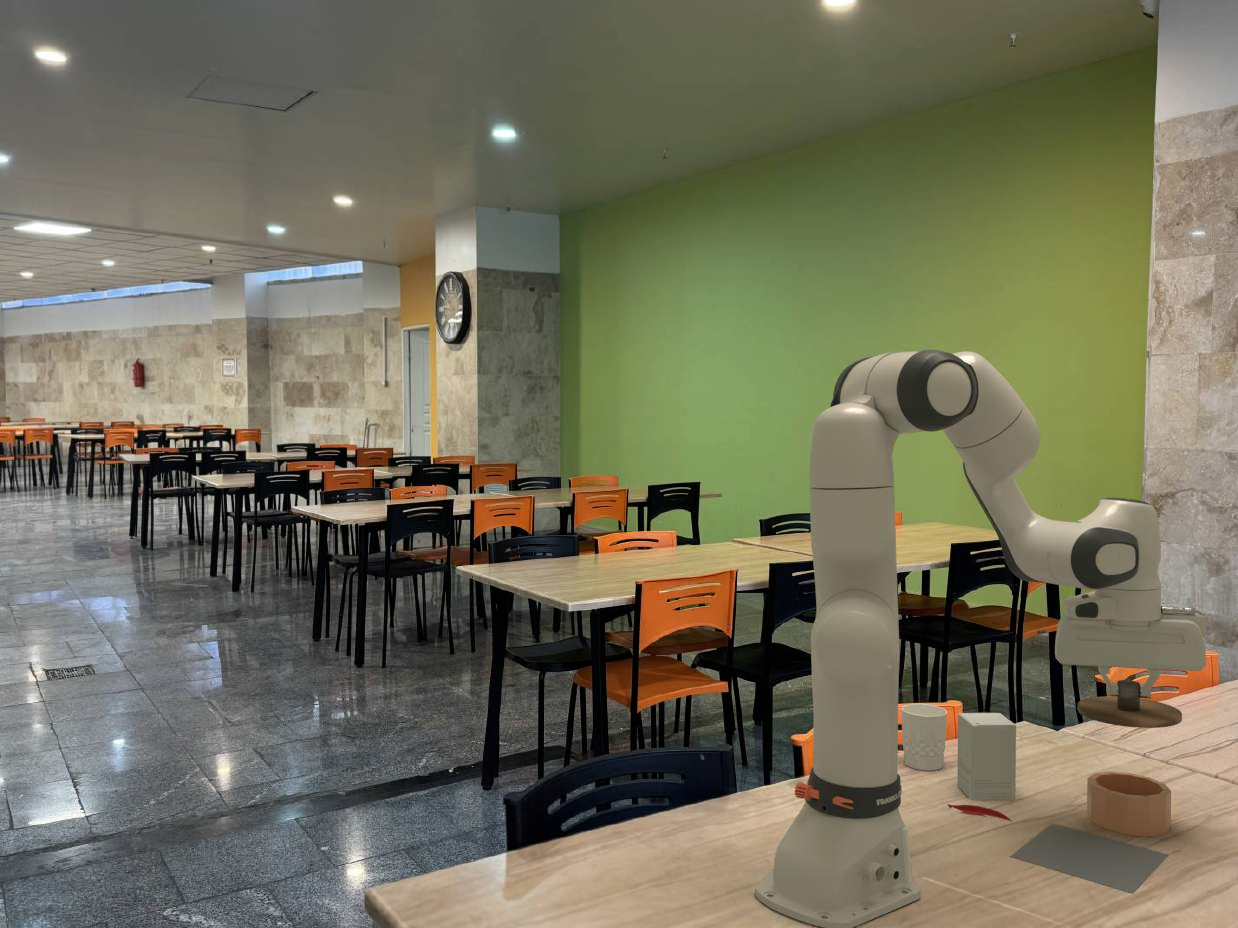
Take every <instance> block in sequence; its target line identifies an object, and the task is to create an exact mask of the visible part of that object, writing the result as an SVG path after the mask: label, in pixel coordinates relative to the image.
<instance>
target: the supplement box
mask: <svg viewBox="0 0 1238 928" xmlns="http://www.w3.org/2000/svg"><path fill="white" fill-rule="evenodd" d="M957 715H958V716H957V779H956V781H957V785H956V786H957V787H958V788H959V789H960V790H961V791H962V792H963V793H964V794H965V796H967V798H968V799H970V800H975V801H977V800H980V801H983V800H984V801H987V800H989V801H991V800H993V801H1015V800H1016V777H1017V775H1016V770H1017V767H1016V763H1017V762H1016V759H1017V756H1016V755H1017V751H1016V750H1017V749H1016V748H1017V724H1016V723H1014V722H1013V721H1011V720H1010V719H1008V718H1007V717H1006V716H1004V715H1003V714H1002V713H1001V712H963V713H962V712H959V713H958V714H957Z"/></svg>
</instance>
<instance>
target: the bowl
mask: <svg viewBox="0 0 1238 928" xmlns="http://www.w3.org/2000/svg"><path fill="white" fill-rule="evenodd" d="M1086 782H1087V784H1086V786H1087V787H1086V788H1087V793H1086V799H1087V801H1086V815H1087V817H1088V818H1089V821H1091V822H1092V823H1094V824H1096V825H1097V826H1099V827H1102V828H1103V829H1105V830H1109V831H1111V832H1116V833H1120V834H1124V835H1127V836H1137V837H1138V836H1139V837H1141V836H1142V837H1153V836H1160V835H1161V836H1162V835H1166V833H1168V831H1169V830H1171V827H1172V826H1171V821H1172V820H1171V819H1172V818H1171V817H1172V814H1171V813H1172V790H1171V789H1170V787H1168V786H1167V785H1166V783H1163V782H1162V781H1159V780H1157V779H1154V778H1153V777H1152V778H1151V777H1149V776H1145V775H1140V774H1136V773H1131V772H1130V773H1129V772H1122V771H1121V772H1119V771H1104V772H1103V771H1101V772H1095V773H1092V774H1091V775H1090V776H1088V777H1087V781H1086Z"/></svg>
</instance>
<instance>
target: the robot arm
mask: <svg viewBox="0 0 1238 928" xmlns="http://www.w3.org/2000/svg"><path fill="white" fill-rule="evenodd" d="M834 385H835V386H834V387H833V394H832V399H831V402H830V407H828V408H827V409H825V410H824V411H823V412H821V413H820V414H819V415H818V416H817V418H816V420H815V422H814V425H813V432H812V437H811V443H810V453H809V468H808V469H809V473H808V475H809V476H808V478H809V487H808V488H809V489H808V490H809V511H810V514H809V517H810V542H811V543H810V547H811V552H812V561H813V573H814V585H815V600H816V601H815V602H816V611H815V612H816V613H815V620H814V621H813V625H812V628H811V632H810V651H811V652H810V653H811V654H810V658H811V661H810V663H811V685H812V686H811V687H812V688H811V689H812V691H811V693H812V709H813V745H812V746H813V760H812V761H813V766H812V768H811V769H810V772H809V776H808V778H807V782H806V784H805V783H804V782H800V781H799V782H798V783H796V785H795V787H794V796H795V798H798V799H802V800H803V799H804V800H805V802H804V804H803V806H802V807H801V809H800V811H799V812H798V814H797V815H796V817H795V818H794V820H793V821H792V823H791V825H790V826H789V828H788V829H787V831H786V832H785V834H784V836H783V837H782V838H781V840H780V842H779V844H778V845H777V847H776V848H775V854H774V855H775V856H774V862H773V864H774V865H773V869H772V870H771V871H770V872H768V874H767V875H766V876H765V877H763V878H762V880H760V882H758V884H757V885H756V886H755V887H754V896H755V898H757V900H759V901H760V902H761V903H762V904H764V905H765V906H767V907H768V908H771V909H772V910H773V911H776V912H777V913H780V914H782V915H785V916H787V917H790V918H792V919H795V920H797V921H801V922H804V923H806V924H808V925H813V926H817V927H821V928H855V927H858V926H860V925H861V924H864V923H866V922H868V921H871V920H873V919H875V918H878V917H880V916H883V915H885V914H887V913H889V912H892V911H895V910H896V909H899V908H901V907H904V906H906V905H909V904H911V903H914V902H915V901H917V900H919V899H921V889H920V887H919V886H918V885H917V883H915V882H914V881H913V876H912V858H911V845H910V833H909V830H908V828H907V826H906V824H905V823H904V820H903V818H902V816H901V813H900V810H899V807H900V806H901V804H902V802H901V801H902V794H903V792H902V791H903V790H902V783H901V776H900V775H899V774H898V764H899V763H898V757H899V756H898V754H899V753H898V749H899V747H898V744H899V742H898V740H899V739H898V737H899V679H900V677H899V676H900V675H899V674H900V633H899V632H900V630H899V627H900V626H899V625H900V624H899V604H898V573H897V570H898V566H897V532H896V530H897V529H896V501H895V500H896V499H895V498H896V497H895V495H896V494H895V474H894V464H893V452H894V448H895V444H896V441H897V439H898V437H899V436H900V435H902V434H915V433H917V434H918V433H922V432H938V431H943V433H944V434H945V435H946V437H947V438H948V440H949V441H950V443H951V444H952V446H953V447H954V449H955V450H956V451H957V453H958V454H959V456H960V458H961V460H962V468H963V474H964V476H965V478H966V481H967V483H968V485H969V487H970V488H971V490H972V493H973V494H974V496H975V498H976V500H977V501H978V503H979V505H980V507H981V509H982V511H984V514H985V516H986V517H987V519H988V521H989V522H990V524H991V526H992V528H993V530H994V531H995V533H996V536H997V538H998V541H999V544H1000V546H1001V547H1000V548H1001V551H1002V554H1003V557H1004V561H1005V563H1006V565H1007V568H1008V569H1009V571H1010V572H1011V573H1012V574H1013V575H1014V576H1015V577H1017V578H1018V579H1020V580H1022V581H1025V582H1029V583H1043V584H1053V585H1059V586H1062V587H1063V586H1064V587H1069V588H1070V587H1072V588H1076V589H1077V588H1078V589H1082V590H1091V591H1089V592H1086V593H1085V592H1084V593H1081V594H1077V595H1073V596H1069V597H1067V598H1065V599H1064V602H1063V611H1064V614H1063V615H1062V616H1061V618H1060V619H1059V620H1058V623H1057V629H1056V633H1055V643H1054V655H1055V660H1057V661H1058V662H1059V663H1060V664H1061V665H1066V666H1067V665H1068V666H1084V667H1086V666H1087V667H1097V668H1098V669H1097V670H1098V672H1099V675H1100V676H1101V678H1102V679H1103V681H1104V682H1105V684H1106V695H1107V696H1114V697H1117V696H1118V684H1117V682H1112V681H1111V680H1110V678H1109V676H1108V675H1109V674H1110V673H1111V668H1123V669H1124V668H1125V669H1126V668H1128V669H1143V670H1146V672H1147V674H1148V678H1147V679H1146V681H1145V683H1140V699H1148V700H1152V688H1153V686H1154V685H1155V684H1156V683H1157V681H1159V678H1160V670H1161V671H1181V672H1197V673H1198V672H1202V670H1204V669H1205V668H1206V666H1207V654H1206V647H1205V641H1204V637H1205V636H1206V634H1207V631H1208V619H1207V616H1205V614H1204V613H1203V612H1201V611H1200V610H1197V609H1196V608H1195V607H1191V606H1185V607H1176V606H1165V605H1162V583H1161V580H1160V577H1159V565H1160V562H1161V559H1162V556H1161V555H1162V554H1161V553H1162V552H1161V551H1162V549H1161V547H1162V546H1161V543H1162V542H1161V531H1160V523H1159V519H1158V518H1159V517H1158V514H1157V511H1156V509H1155V506H1153V505H1151V504H1150V503H1149V502H1147V501H1143V500H1139V499H1134V498H1133V499H1132V498H1123V497H1105V498H1101V499H1100V500H1099V502H1098V505H1097V507H1096V508H1095V509H1094V510H1093V511H1092V512H1091V513H1090V514H1087V516H1084V517H1083V518H1081V519H1078V520H1077V521H1076V522H1075V521H1065V520H1063V521H1062V520H1055V519H1050V518H1047V517H1044V516H1042V515H1039V514H1038V513H1036V512H1035V511H1034V510H1033V509H1031V507H1030V505H1029V503H1028V502H1027V500H1026V498H1025V496H1024V494H1023V492H1022V490H1021V489H1020V487H1019V485H1018V483H1017V482H1016V480H1015V478H1016V477H1017V476H1019V474H1021V473H1022V472H1023V471H1024V470H1025V469H1027V468H1028V466H1029V465H1031V463H1032V462H1033V461H1034V459H1035V458H1036V456H1037V453H1038V451H1039V449H1040V444H1041V438H1042V436H1041V435H1042V434H1041V431H1040V429H1039V426H1038V423H1037V421H1036V419H1035V418H1034V415H1033V414H1032V412H1031V411H1030V409H1029V408H1028V406H1027V405H1026V403H1025V402H1024V401H1023V400H1022V398H1021V396H1020V395H1019V394H1018V392H1017V391H1016V389H1014V388H1013V386H1012V385H1011V384H1010V383H1009V381H1008V380H1007V379H1006V378H1005V377H1004V376H1003V375H1002V374H1001V373H1000V371H999V370H997V369H996V367H994V366H993V364H991V363H990V362H989V360H987V359H986V358H985V357H984V356H982V355H981V354H979V353H977V352H974V351H965V350H964V351H959V352H954V353H950V352H947V351H943V350H938V349H925V350H924V349H923V350H920V351H891V352H885V353H882V354H879V355H875V356H866V357H863V358H860V359H859V360H856V361H854V362H852V363H851V364H849V365H847V366H846V367H845V368H844V369H843V370H842V372H841V373H840V374H839V376H838V378H837V380H836V383H835V384H834ZM1093 590H1094V591H1093Z"/></svg>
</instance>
